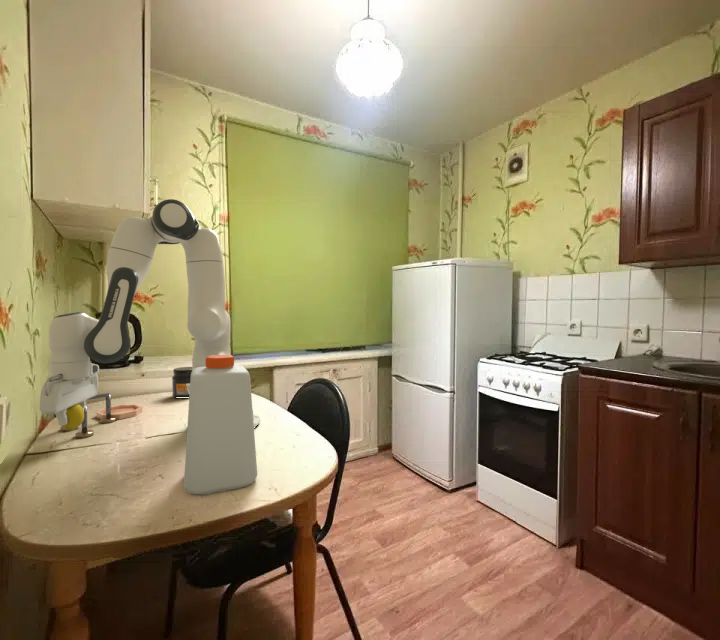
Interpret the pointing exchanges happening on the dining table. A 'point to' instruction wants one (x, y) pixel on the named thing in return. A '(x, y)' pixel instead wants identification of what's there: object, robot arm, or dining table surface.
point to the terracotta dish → (121, 411)
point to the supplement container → (181, 381)
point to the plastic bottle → (219, 428)
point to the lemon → (74, 417)
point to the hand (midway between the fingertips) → (71, 420)
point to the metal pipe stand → (107, 419)
